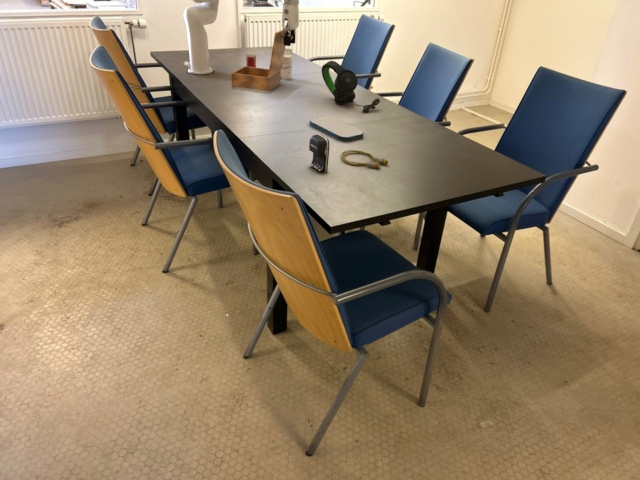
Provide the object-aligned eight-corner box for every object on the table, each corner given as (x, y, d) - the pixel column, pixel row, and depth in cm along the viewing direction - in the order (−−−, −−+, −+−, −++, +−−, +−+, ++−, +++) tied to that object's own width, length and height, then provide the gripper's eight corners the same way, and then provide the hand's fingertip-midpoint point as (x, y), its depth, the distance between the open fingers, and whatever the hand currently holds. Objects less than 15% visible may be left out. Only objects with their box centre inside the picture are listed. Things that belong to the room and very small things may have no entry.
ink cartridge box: (273, 79, 251) (273, 49, 243) (275, 77, 255) (275, 47, 248) (290, 80, 251) (290, 50, 243) (291, 78, 255) (292, 48, 247)
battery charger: (306, 167, 162) (308, 133, 155) (316, 165, 163) (318, 132, 157) (318, 175, 157) (320, 141, 151) (328, 173, 159) (330, 139, 152)
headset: (356, 129, 220) (316, 85, 227) (379, 112, 223) (339, 70, 230) (359, 106, 203) (316, 59, 210) (384, 88, 206) (341, 43, 213)
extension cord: (361, 173, 160) (361, 167, 159) (334, 156, 171) (334, 150, 170) (390, 166, 165) (391, 161, 164) (362, 150, 177) (363, 145, 175)
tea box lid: (275, 32, 216) (286, 36, 215) (287, 27, 228) (298, 30, 228) (267, 76, 227) (278, 80, 226) (279, 69, 240) (290, 72, 239)
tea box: (231, 88, 234) (231, 73, 231) (245, 80, 247) (244, 66, 244) (268, 93, 230) (268, 78, 227) (280, 85, 243) (280, 70, 240)
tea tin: (244, 78, 250) (244, 56, 244) (248, 76, 254) (248, 54, 248) (254, 79, 249) (253, 57, 243) (257, 77, 253) (257, 55, 247)
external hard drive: (306, 124, 197) (306, 119, 196) (328, 119, 203) (329, 115, 202) (343, 143, 181) (343, 138, 180) (366, 138, 187) (367, 133, 186)
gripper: (292, 3, 207) (291, 48, 216) (304, -1, 221) (303, 42, 230) (275, 1, 208) (275, 46, 218) (288, -3, 222) (288, 40, 232)
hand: (289, 44), depth 224 cm, fingers closed on tea box lid, 5 cm apart
